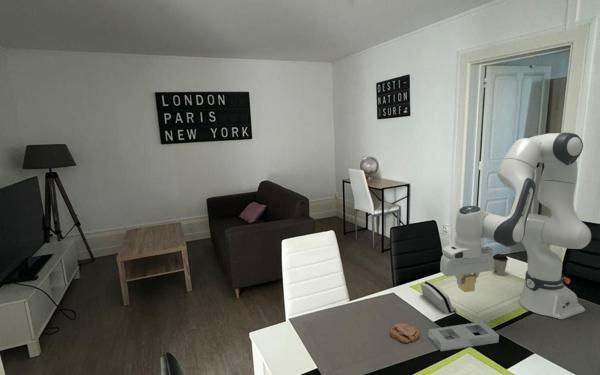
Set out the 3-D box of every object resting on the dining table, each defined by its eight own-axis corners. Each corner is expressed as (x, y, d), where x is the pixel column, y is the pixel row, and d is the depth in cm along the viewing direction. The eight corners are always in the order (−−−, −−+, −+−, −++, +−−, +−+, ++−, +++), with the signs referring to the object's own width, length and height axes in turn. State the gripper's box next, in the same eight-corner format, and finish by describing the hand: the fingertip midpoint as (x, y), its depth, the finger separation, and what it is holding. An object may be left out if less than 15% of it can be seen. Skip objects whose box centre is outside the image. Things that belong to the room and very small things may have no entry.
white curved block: (457, 312, 131) (451, 292, 129) (447, 317, 130) (441, 298, 128) (432, 292, 147) (426, 275, 145) (423, 297, 146) (417, 279, 144)
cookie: (424, 341, 115) (424, 334, 114) (397, 346, 113) (397, 338, 113) (410, 325, 124) (411, 318, 124) (385, 329, 123) (385, 322, 122)
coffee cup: (494, 276, 159) (495, 258, 157) (488, 270, 166) (489, 252, 164) (509, 277, 158) (511, 258, 156) (503, 270, 165) (504, 252, 163)
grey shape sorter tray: (482, 328, 120) (482, 321, 119) (498, 342, 112) (499, 334, 111) (428, 336, 117) (428, 329, 116) (441, 351, 109) (441, 343, 108)
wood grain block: (467, 285, 124) (468, 271, 123) (474, 290, 120) (475, 276, 119) (458, 287, 123) (458, 272, 122) (464, 292, 119) (465, 277, 118)
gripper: (486, 243, 123) (485, 276, 126) (438, 248, 120) (437, 282, 123) (499, 249, 117) (496, 283, 119) (448, 255, 114) (447, 290, 117)
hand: (466, 283), depth 121 cm, fingers closed on wood grain block, 4 cm apart
